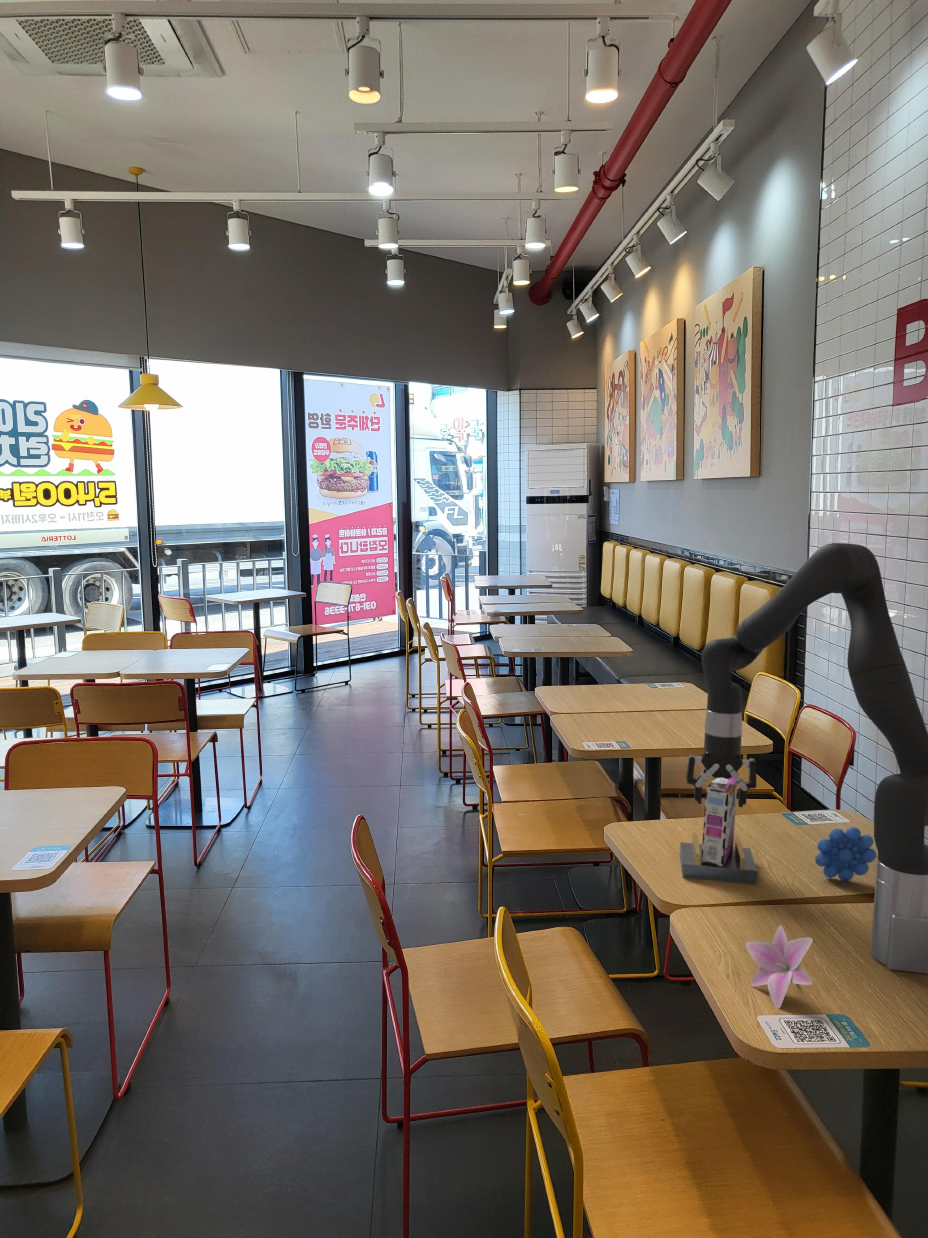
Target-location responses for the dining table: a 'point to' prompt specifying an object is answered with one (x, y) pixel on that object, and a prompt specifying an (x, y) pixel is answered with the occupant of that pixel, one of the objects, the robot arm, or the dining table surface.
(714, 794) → the candy bar box
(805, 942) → the lily
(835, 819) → the dining table surface
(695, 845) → the dock
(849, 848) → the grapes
